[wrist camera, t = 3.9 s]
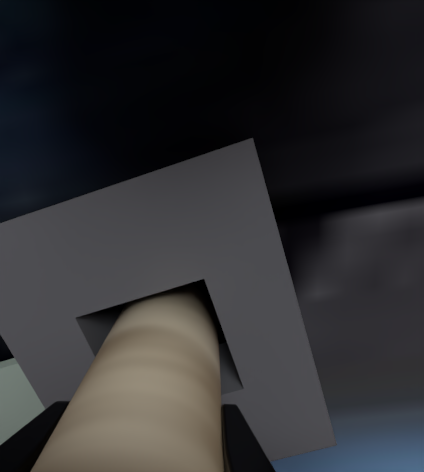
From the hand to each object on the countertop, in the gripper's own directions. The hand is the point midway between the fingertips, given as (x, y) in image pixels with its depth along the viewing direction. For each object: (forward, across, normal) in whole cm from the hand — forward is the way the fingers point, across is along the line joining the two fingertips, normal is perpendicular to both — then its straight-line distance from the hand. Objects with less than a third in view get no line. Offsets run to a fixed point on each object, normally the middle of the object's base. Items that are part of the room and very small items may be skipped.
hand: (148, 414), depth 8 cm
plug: (+4, 0, 0) cm, 4 cm away
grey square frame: (+6, 0, 0) cm, 6 cm away
